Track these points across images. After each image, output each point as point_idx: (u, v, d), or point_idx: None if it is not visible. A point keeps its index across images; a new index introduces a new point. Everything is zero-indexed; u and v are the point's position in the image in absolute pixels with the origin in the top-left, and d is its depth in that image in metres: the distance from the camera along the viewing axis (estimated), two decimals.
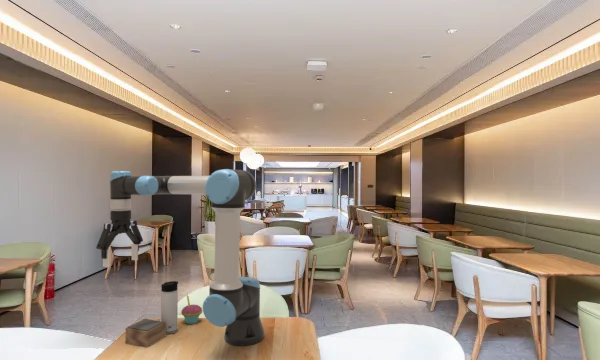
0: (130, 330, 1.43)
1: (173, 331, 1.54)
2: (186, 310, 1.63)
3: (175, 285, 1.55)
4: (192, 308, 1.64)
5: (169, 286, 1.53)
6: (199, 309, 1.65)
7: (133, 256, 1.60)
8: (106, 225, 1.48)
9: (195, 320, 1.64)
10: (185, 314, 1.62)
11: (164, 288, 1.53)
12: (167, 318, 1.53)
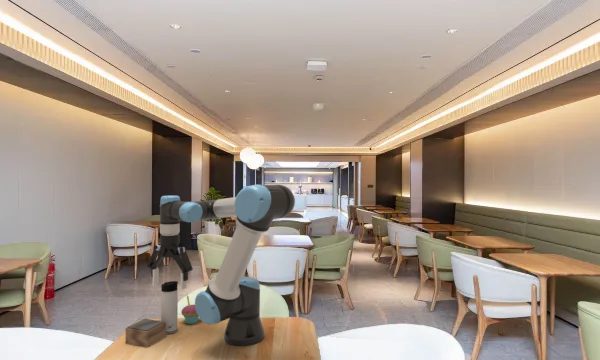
0: (130, 330, 1.43)
1: (173, 331, 1.54)
2: (186, 310, 1.63)
3: (175, 285, 1.55)
4: (192, 308, 1.64)
5: (169, 286, 1.53)
6: None
7: None
8: None
9: (195, 320, 1.64)
10: (185, 314, 1.62)
11: (164, 288, 1.53)
12: (167, 318, 1.53)
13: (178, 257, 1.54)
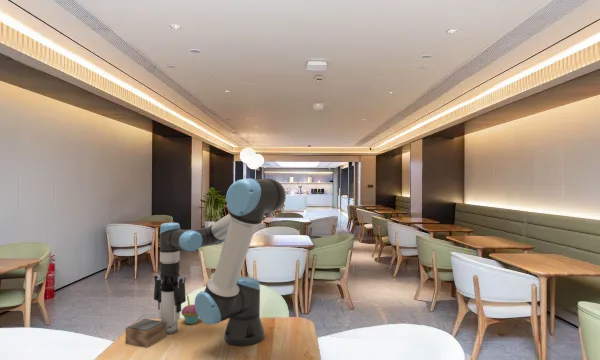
0: (130, 330, 1.43)
1: (173, 331, 1.54)
2: (186, 310, 1.63)
3: (175, 285, 1.55)
4: (192, 308, 1.64)
5: (169, 286, 1.53)
6: None
7: None
8: None
9: (195, 320, 1.64)
10: (185, 314, 1.62)
11: (164, 288, 1.53)
12: (168, 318, 1.53)
13: (176, 287, 1.55)
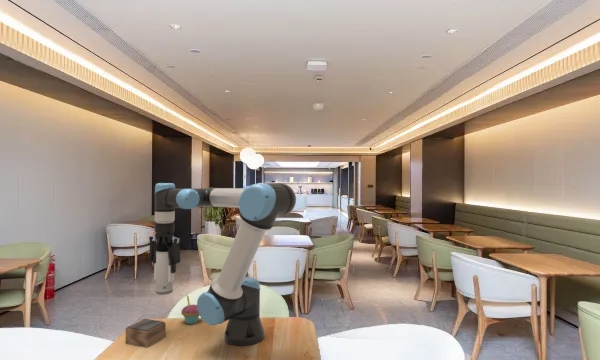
0: (130, 330, 1.43)
1: (168, 292, 1.52)
2: (186, 310, 1.63)
3: (170, 245, 1.53)
4: (192, 308, 1.64)
5: (164, 246, 1.51)
6: None
7: None
8: None
9: (195, 320, 1.64)
10: (185, 314, 1.62)
11: (159, 248, 1.51)
12: (162, 278, 1.51)
13: None
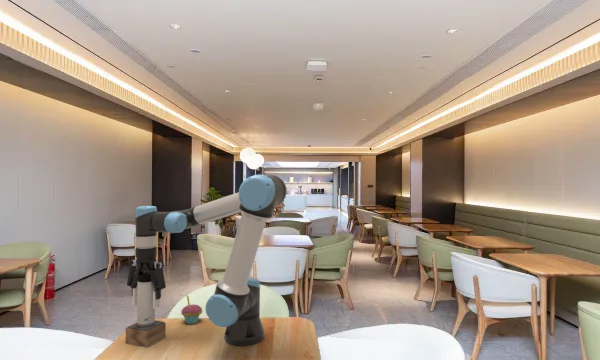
0: (130, 330, 1.43)
1: (150, 324, 1.45)
2: (186, 310, 1.63)
3: None
4: (192, 308, 1.64)
5: (145, 276, 1.44)
6: (199, 309, 1.65)
7: None
8: None
9: (195, 320, 1.64)
10: (185, 314, 1.62)
11: (140, 278, 1.44)
12: (144, 310, 1.44)
13: (153, 273, 1.46)
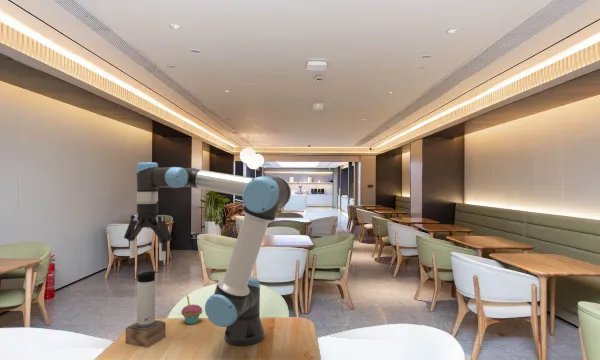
0: (130, 330, 1.43)
1: (150, 324, 1.45)
2: (186, 310, 1.63)
3: (152, 275, 1.46)
4: (192, 308, 1.64)
5: (145, 276, 1.44)
6: (199, 309, 1.65)
7: None
8: None
9: (195, 320, 1.64)
10: (185, 314, 1.62)
11: (140, 278, 1.44)
12: (144, 310, 1.44)
13: (156, 227, 1.46)
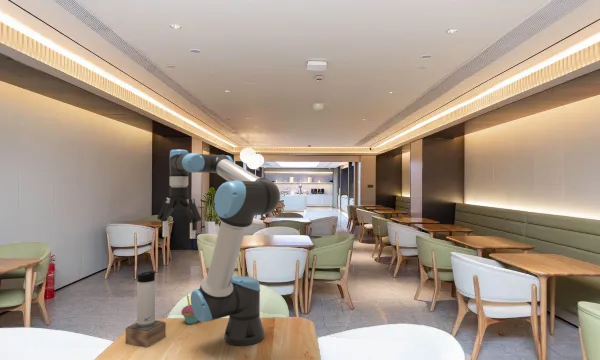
0: (130, 330, 1.43)
1: (150, 324, 1.45)
2: (186, 310, 1.63)
3: (152, 275, 1.46)
4: None
5: (145, 276, 1.44)
6: None
7: None
8: None
9: (195, 320, 1.64)
10: (185, 314, 1.62)
11: (140, 278, 1.44)
12: (144, 310, 1.44)
13: (187, 208, 1.61)
